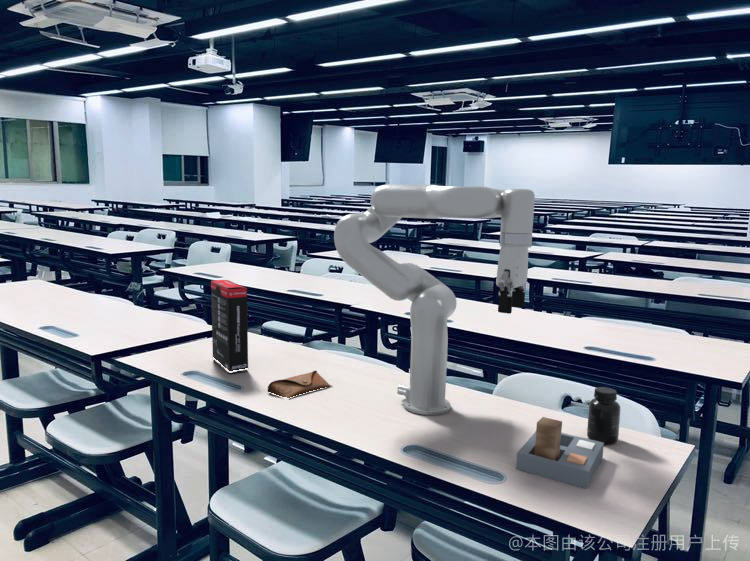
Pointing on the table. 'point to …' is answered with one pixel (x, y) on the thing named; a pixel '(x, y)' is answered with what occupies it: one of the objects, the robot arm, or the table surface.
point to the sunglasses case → (297, 385)
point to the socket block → (564, 460)
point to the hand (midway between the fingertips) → (511, 309)
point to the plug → (548, 438)
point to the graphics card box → (229, 324)
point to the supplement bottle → (604, 416)
